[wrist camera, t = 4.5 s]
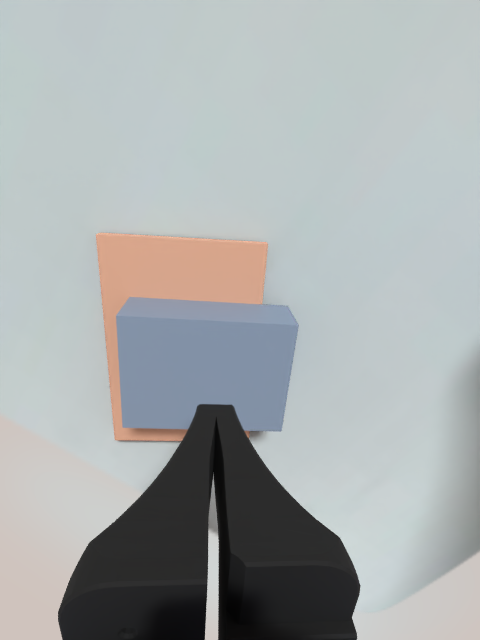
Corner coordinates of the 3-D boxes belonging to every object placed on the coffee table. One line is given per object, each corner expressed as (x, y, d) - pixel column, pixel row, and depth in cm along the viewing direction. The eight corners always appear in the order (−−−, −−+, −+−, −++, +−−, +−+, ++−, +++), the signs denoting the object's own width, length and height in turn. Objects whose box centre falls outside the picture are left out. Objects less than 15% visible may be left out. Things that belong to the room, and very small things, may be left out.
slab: (298, 325, 15) (116, 315, 15) (281, 431, 18) (122, 427, 17) (287, 305, 18) (129, 297, 17) (273, 402, 20) (133, 397, 19)
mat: (266, 242, 17) (267, 244, 16) (247, 434, 21) (248, 441, 21) (99, 232, 16) (95, 234, 16) (117, 433, 21) (114, 440, 20)
